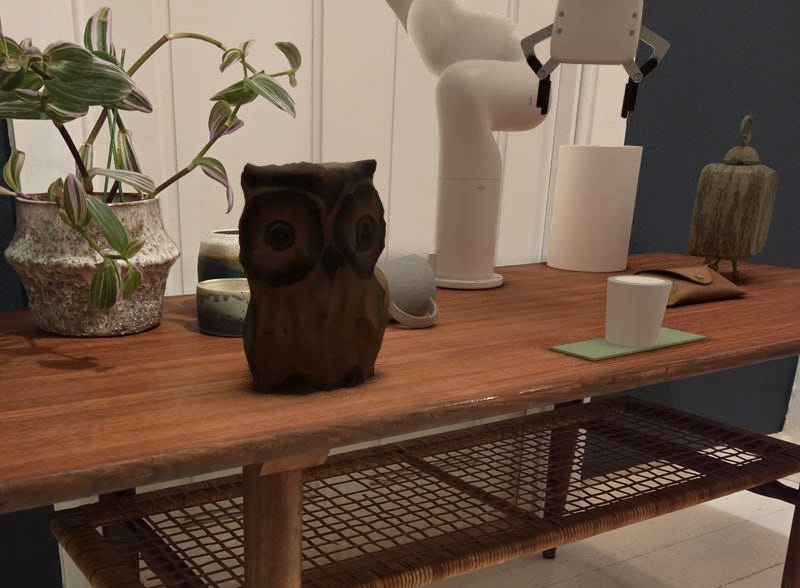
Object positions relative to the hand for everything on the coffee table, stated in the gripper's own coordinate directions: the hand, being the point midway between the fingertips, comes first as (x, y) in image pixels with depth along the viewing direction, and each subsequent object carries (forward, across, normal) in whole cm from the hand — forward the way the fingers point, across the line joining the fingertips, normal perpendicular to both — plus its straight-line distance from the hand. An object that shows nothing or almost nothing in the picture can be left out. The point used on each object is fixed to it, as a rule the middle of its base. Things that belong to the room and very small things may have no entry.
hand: (583, 116), depth 109 cm
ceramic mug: (+24, +18, +14) cm, 34 cm away
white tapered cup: (+23, -9, +18) cm, 31 cm away
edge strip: (+23, -9, +18) cm, 31 cm away
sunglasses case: (+24, -18, -15) cm, 34 cm away
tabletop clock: (+25, -25, -36) cm, 51 cm away
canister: (+26, -4, -43) cm, 50 cm away
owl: (+24, +22, +43) cm, 54 cm away
